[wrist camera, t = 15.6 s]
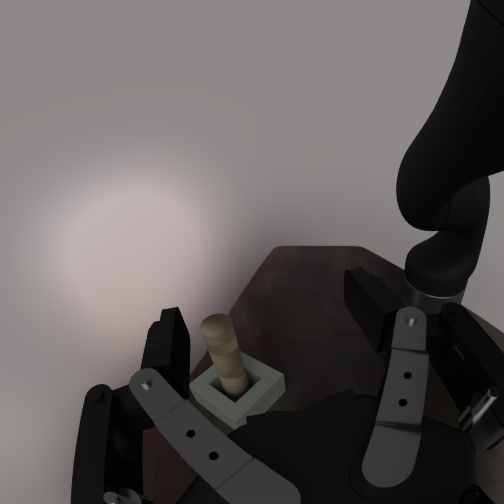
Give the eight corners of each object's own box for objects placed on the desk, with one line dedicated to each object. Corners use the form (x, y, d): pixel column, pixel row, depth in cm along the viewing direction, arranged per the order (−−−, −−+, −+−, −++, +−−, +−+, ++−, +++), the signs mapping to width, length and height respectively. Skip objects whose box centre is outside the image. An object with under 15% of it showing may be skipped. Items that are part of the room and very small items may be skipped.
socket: (239, 364, 44) (234, 347, 42) (285, 390, 38) (283, 373, 36) (196, 400, 38) (188, 385, 36) (242, 435, 32) (235, 421, 30)
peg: (240, 384, 40) (216, 310, 33) (257, 395, 38) (238, 320, 31) (223, 399, 38) (194, 326, 31) (241, 411, 35) (215, 339, 28)
